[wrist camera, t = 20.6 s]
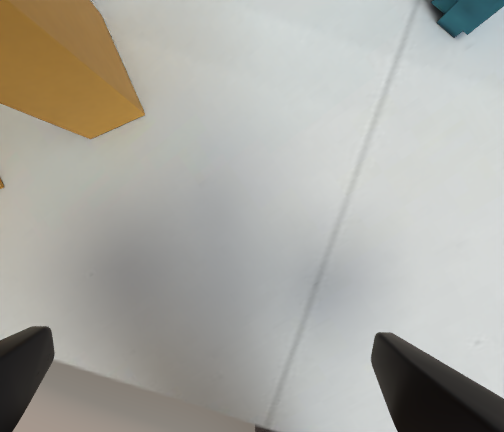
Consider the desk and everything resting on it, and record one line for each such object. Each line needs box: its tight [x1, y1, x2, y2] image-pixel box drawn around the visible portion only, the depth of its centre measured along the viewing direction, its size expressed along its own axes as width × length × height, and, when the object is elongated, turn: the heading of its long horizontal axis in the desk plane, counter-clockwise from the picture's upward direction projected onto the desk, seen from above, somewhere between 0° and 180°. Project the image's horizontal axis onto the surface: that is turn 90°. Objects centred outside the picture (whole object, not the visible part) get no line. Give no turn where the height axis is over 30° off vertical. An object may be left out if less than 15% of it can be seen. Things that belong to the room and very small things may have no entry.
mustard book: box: [0, 0, 145, 139], centre depth 13 cm, size 4×7×12 cm, turn 24°
